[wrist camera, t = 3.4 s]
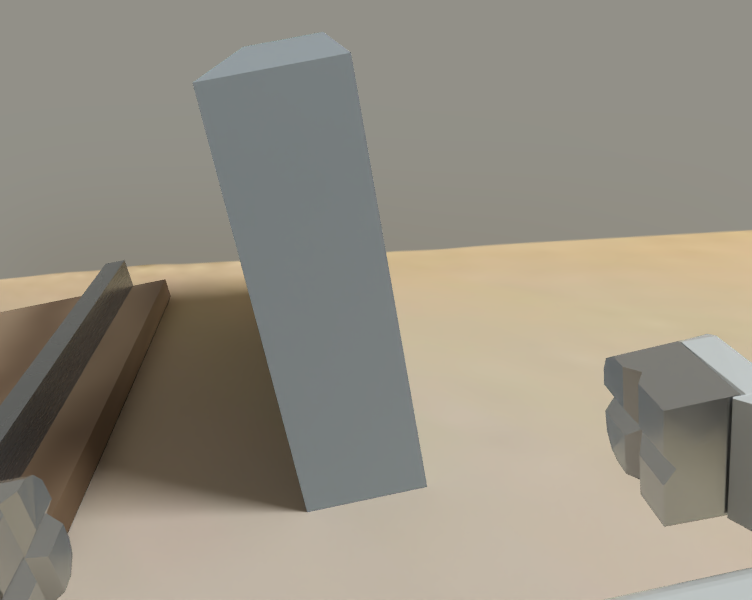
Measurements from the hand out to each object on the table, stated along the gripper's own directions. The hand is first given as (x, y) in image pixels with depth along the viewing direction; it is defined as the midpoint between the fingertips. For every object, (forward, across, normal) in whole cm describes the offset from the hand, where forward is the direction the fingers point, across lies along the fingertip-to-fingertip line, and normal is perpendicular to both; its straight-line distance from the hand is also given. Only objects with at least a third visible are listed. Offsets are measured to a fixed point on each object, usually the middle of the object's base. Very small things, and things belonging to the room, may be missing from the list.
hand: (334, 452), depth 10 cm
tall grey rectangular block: (+16, 0, -7) cm, 17 cm away
